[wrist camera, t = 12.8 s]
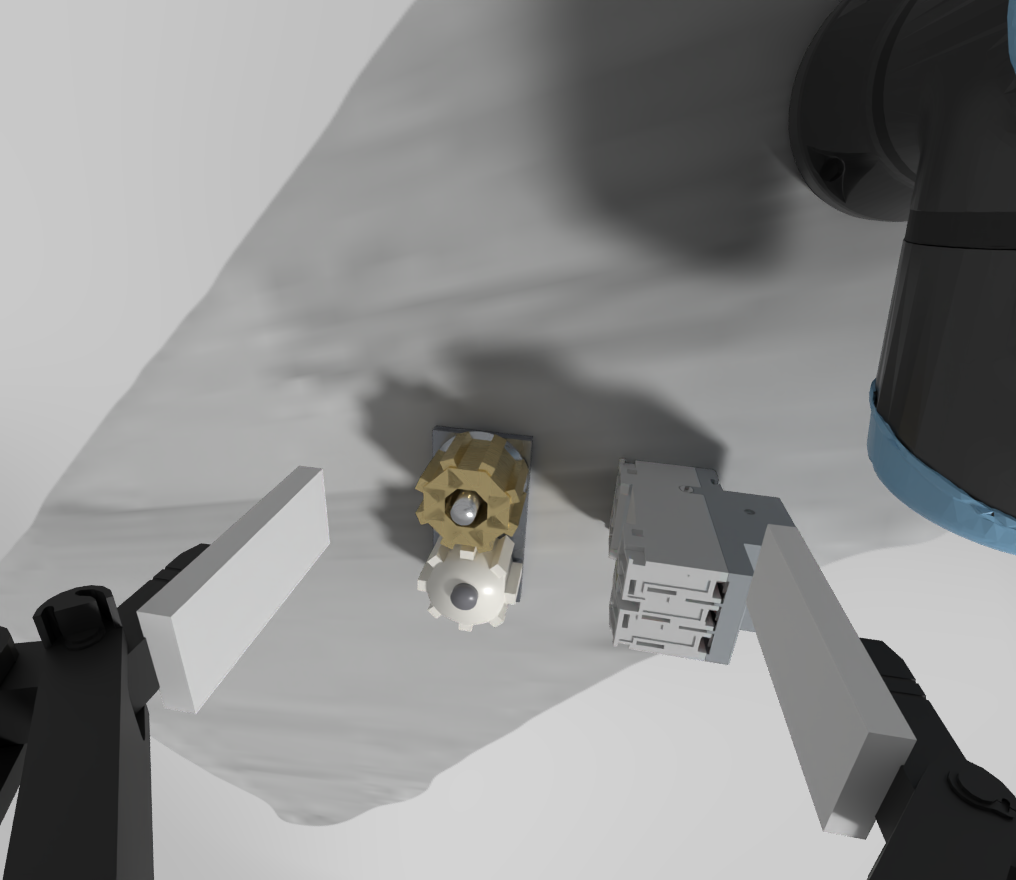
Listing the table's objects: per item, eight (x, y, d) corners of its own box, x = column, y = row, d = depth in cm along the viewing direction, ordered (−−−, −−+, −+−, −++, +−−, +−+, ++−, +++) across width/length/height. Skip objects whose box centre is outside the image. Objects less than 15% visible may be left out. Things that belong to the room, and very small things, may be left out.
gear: (525, 528, 53) (516, 565, 48) (519, 603, 57) (510, 645, 51) (431, 515, 54) (413, 550, 49) (432, 590, 58) (415, 630, 52)
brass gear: (531, 437, 49) (521, 467, 44) (524, 522, 53) (515, 559, 47) (434, 426, 50) (413, 454, 45) (434, 510, 54) (415, 546, 48)
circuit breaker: (765, 550, 51) (823, 680, 38) (608, 529, 53) (609, 645, 39) (787, 478, 48) (859, 591, 34) (620, 458, 50) (625, 558, 36)
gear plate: (533, 432, 50) (520, 473, 43) (520, 595, 58) (508, 653, 50) (435, 421, 51) (407, 459, 44) (436, 583, 59) (412, 638, 52)
